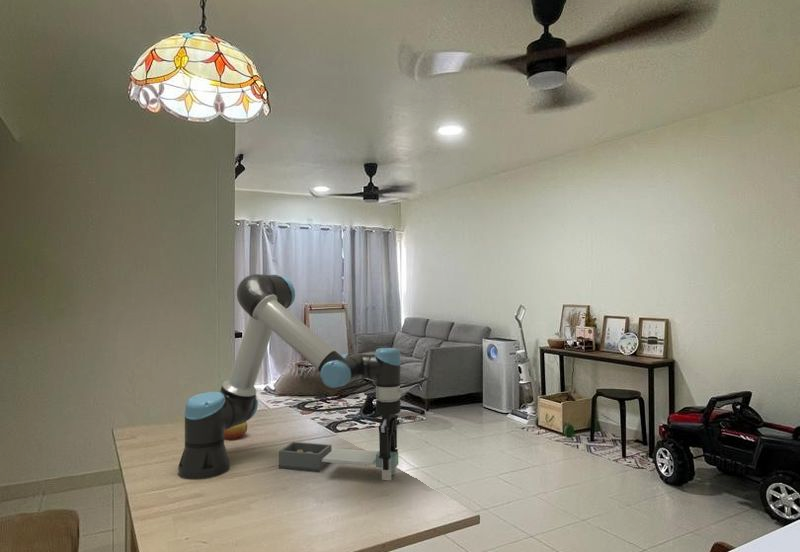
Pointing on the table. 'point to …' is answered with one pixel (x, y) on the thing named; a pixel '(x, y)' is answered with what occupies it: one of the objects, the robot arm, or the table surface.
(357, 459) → the lid
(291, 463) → the tub
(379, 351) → the robot arm
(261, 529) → the table surface
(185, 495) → the table surface
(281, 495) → the table surface
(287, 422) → the table surface
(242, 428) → the apple
